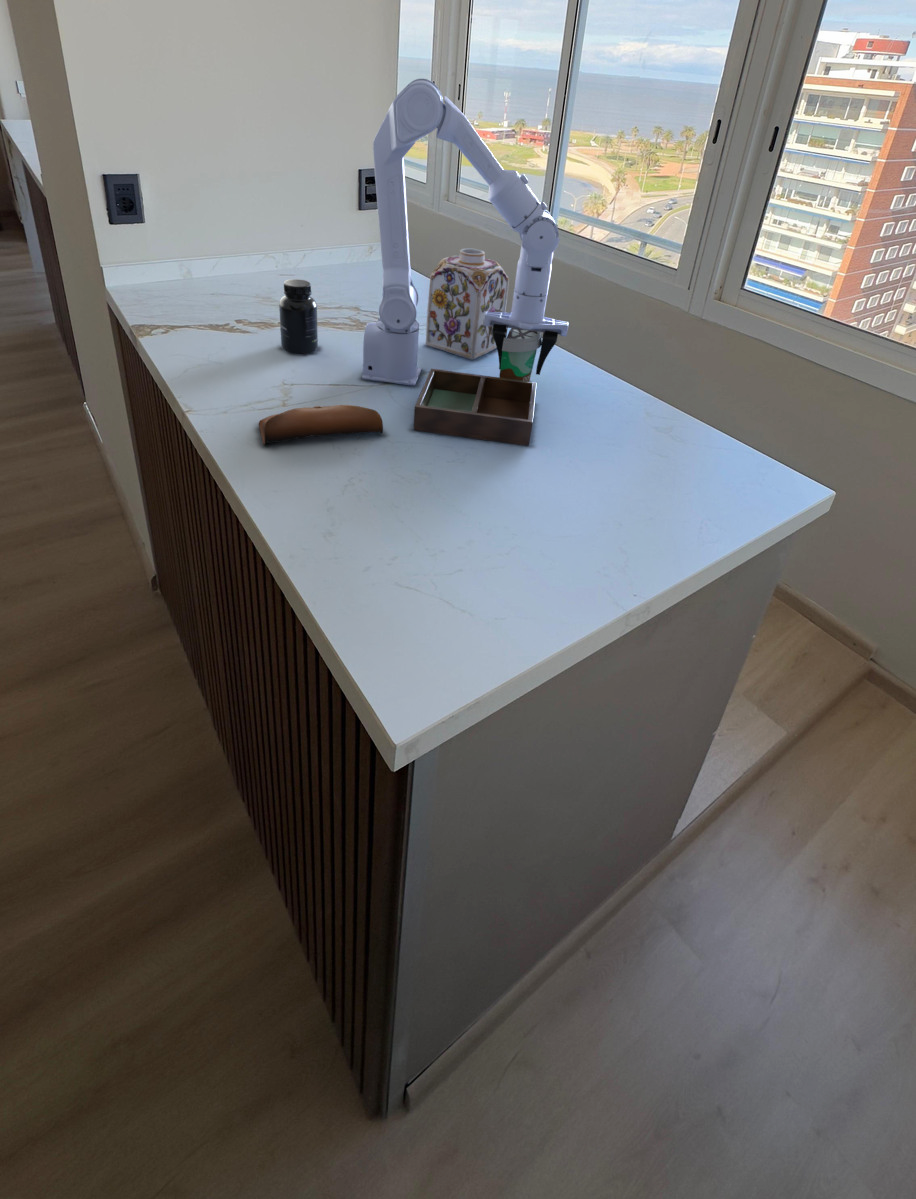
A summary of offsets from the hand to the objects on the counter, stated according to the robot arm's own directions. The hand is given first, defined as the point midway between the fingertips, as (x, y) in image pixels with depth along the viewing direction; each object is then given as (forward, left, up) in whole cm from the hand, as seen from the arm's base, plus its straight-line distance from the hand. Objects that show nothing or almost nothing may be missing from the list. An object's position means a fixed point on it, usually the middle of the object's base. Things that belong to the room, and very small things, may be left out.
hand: (519, 370), depth 131 cm
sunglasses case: (-29, -29, -3) cm, 41 cm away
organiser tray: (-6, -16, -3) cm, 17 cm away
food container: (0, 0, -3) cm, 3 cm away
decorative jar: (-12, +17, -3) cm, 21 cm away
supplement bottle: (-42, +4, -3) cm, 42 cm away
